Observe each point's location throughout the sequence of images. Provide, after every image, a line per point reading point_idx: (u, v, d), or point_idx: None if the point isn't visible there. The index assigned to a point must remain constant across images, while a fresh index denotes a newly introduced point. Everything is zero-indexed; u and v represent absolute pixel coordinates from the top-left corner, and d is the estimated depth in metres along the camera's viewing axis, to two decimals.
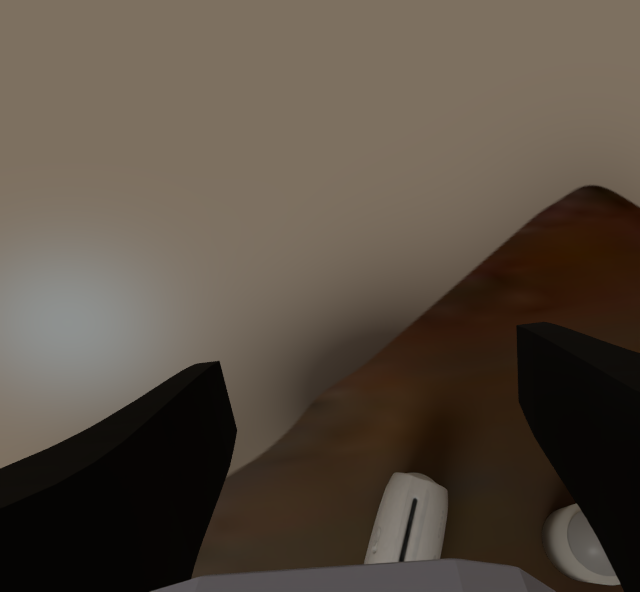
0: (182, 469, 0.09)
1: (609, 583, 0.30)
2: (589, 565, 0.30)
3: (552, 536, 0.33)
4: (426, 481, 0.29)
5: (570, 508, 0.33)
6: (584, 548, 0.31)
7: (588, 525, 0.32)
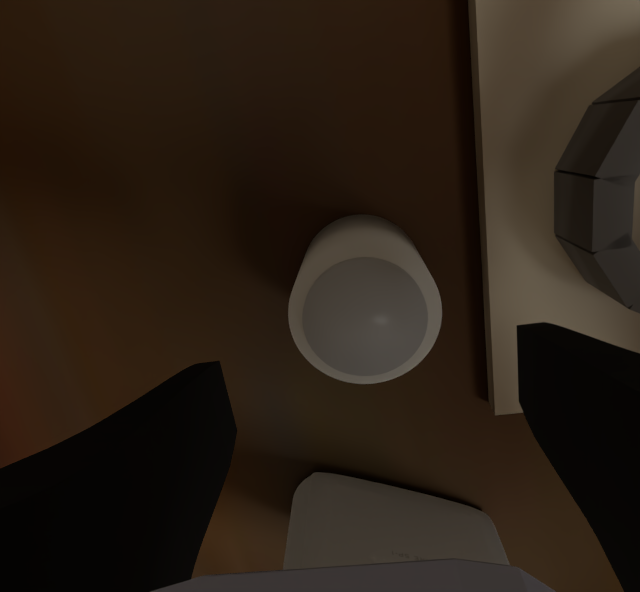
0: (182, 469, 0.09)
1: (438, 314, 0.15)
2: (409, 349, 0.15)
3: None
4: None
5: (306, 356, 0.16)
6: (379, 351, 0.15)
7: (336, 338, 0.15)
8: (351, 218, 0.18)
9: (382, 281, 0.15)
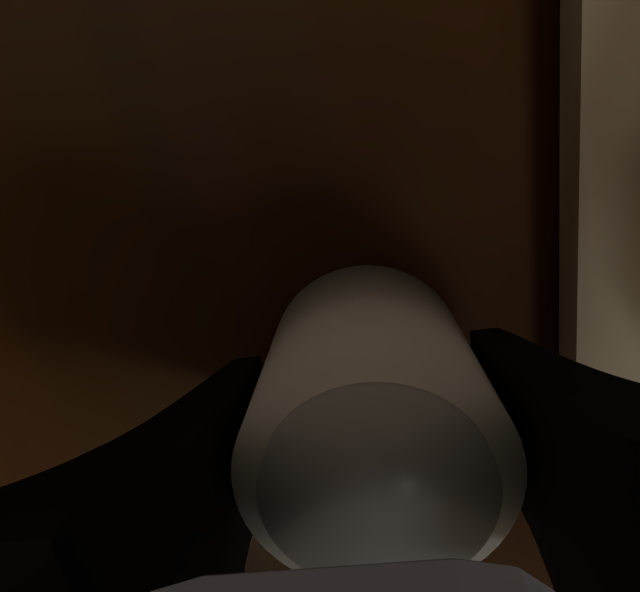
0: None
1: (520, 485, 0.08)
2: (464, 550, 0.08)
3: None
4: None
5: (268, 547, 0.09)
6: (404, 553, 0.08)
7: (322, 528, 0.08)
8: (351, 275, 0.11)
9: (412, 434, 0.07)
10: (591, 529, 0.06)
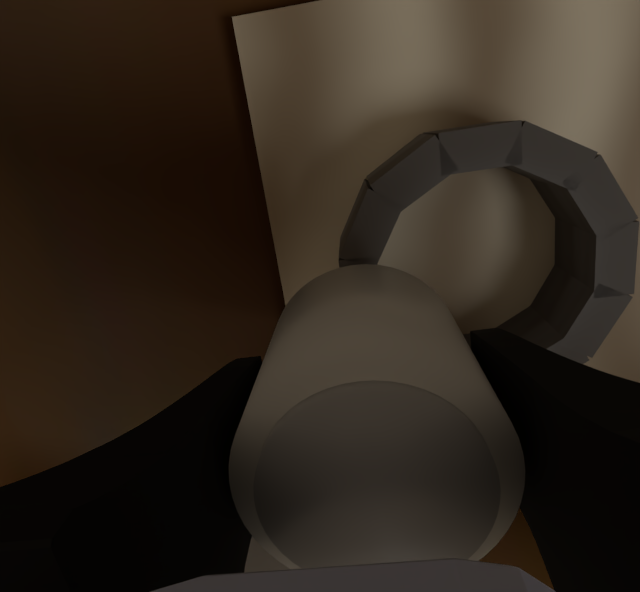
0: None
1: (518, 483, 0.08)
2: (462, 549, 0.08)
3: None
4: None
5: (266, 546, 0.09)
6: (402, 552, 0.08)
7: (320, 527, 0.08)
8: (349, 274, 0.11)
9: (410, 432, 0.07)
10: (591, 529, 0.06)
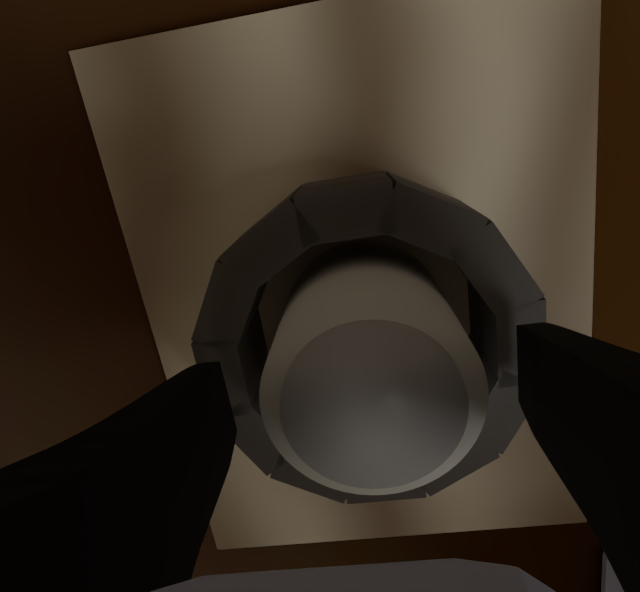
0: (182, 469, 0.09)
1: (483, 401, 0.10)
2: (440, 454, 0.10)
3: None
4: None
5: (287, 457, 0.11)
6: (394, 456, 0.10)
7: (330, 436, 0.10)
8: (351, 248, 0.13)
9: (400, 358, 0.10)
10: None
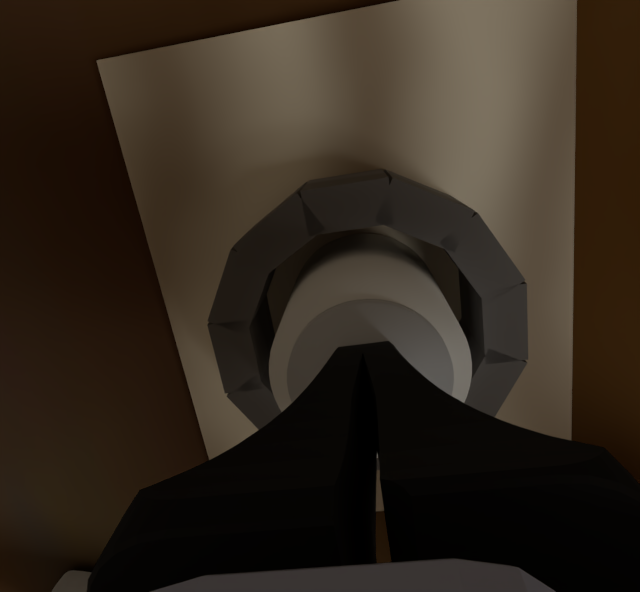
0: (364, 452, 0.09)
1: (467, 372, 0.11)
2: None
3: None
4: None
5: None
6: None
7: None
8: (352, 239, 0.15)
9: (392, 332, 0.11)
10: None
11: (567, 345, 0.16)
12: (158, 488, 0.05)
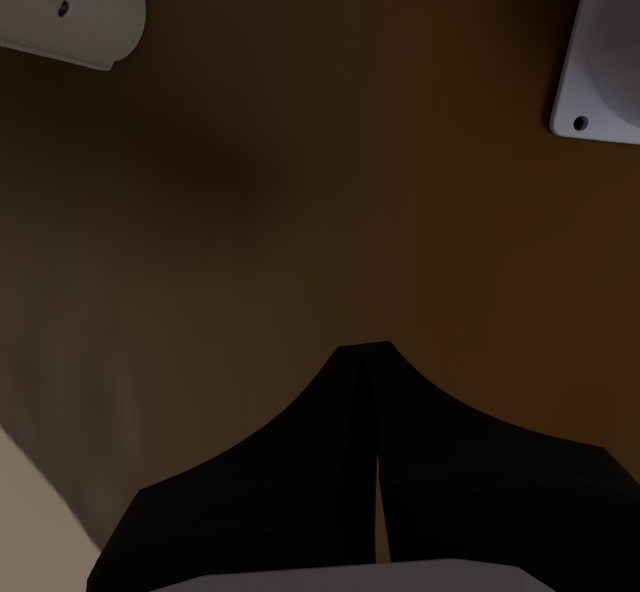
0: (364, 452, 0.09)
1: None
2: None
3: None
4: None
5: None
6: None
7: None
8: None
9: None
10: None
11: None
12: (158, 488, 0.05)
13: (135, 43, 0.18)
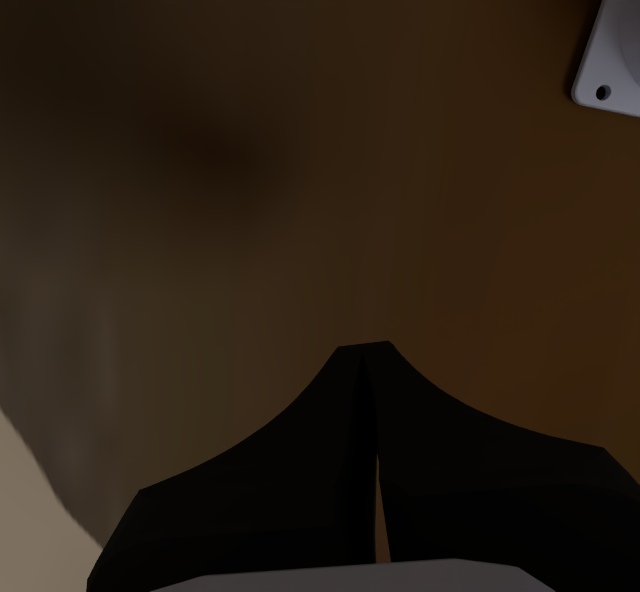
0: (364, 452, 0.09)
1: None
2: None
3: None
4: None
5: None
6: None
7: None
8: None
9: None
10: None
11: None
12: (158, 488, 0.05)
13: None
